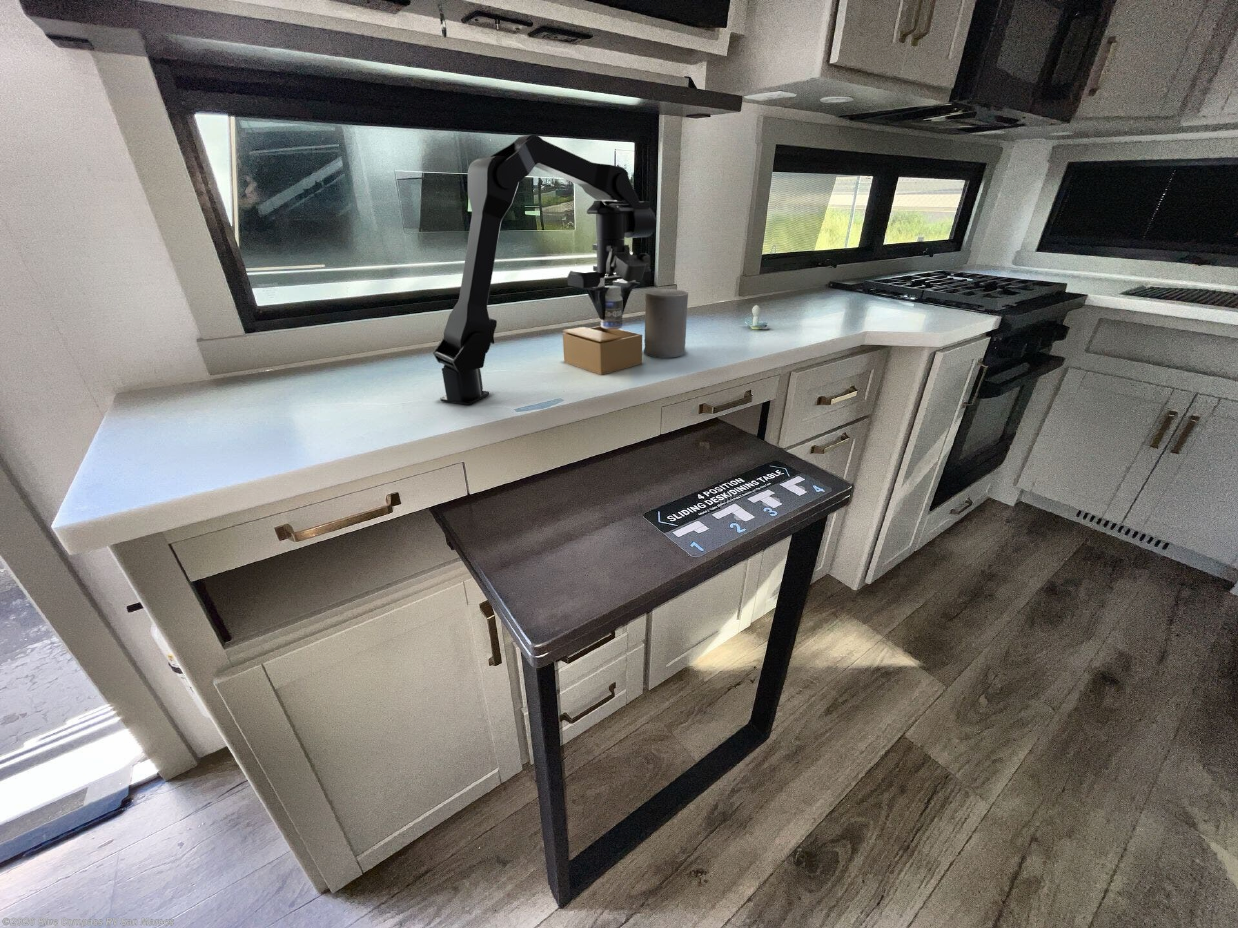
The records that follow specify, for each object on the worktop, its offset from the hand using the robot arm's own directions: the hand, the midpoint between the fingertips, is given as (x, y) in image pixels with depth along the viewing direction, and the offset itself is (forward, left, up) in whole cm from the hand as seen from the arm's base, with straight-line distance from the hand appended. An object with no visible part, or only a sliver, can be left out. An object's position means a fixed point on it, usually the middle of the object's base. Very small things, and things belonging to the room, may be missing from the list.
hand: (611, 317), depth 109 cm
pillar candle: (+11, -9, -10) cm, 17 cm away
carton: (-2, +1, -9) cm, 10 cm away
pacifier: (+45, -25, -10) cm, 52 cm away
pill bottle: (0, 0, -2) cm, 2 cm away
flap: (-5, +2, -3) cm, 6 cm away
